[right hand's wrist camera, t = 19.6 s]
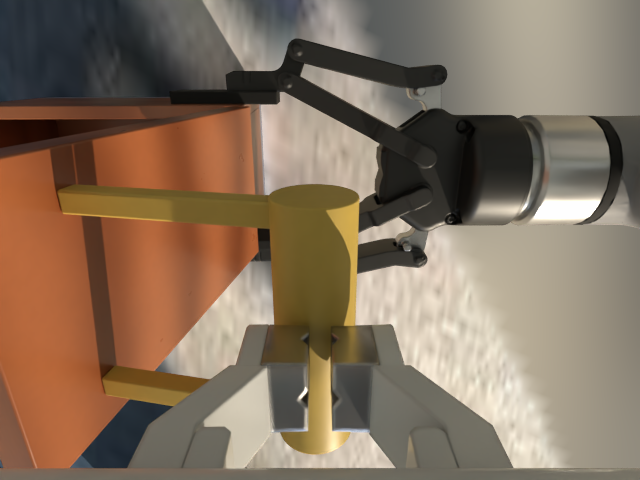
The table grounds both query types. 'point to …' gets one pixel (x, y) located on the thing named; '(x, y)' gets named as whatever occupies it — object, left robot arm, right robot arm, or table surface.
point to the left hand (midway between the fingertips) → (185, 172)
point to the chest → (106, 119)
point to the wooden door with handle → (150, 273)
